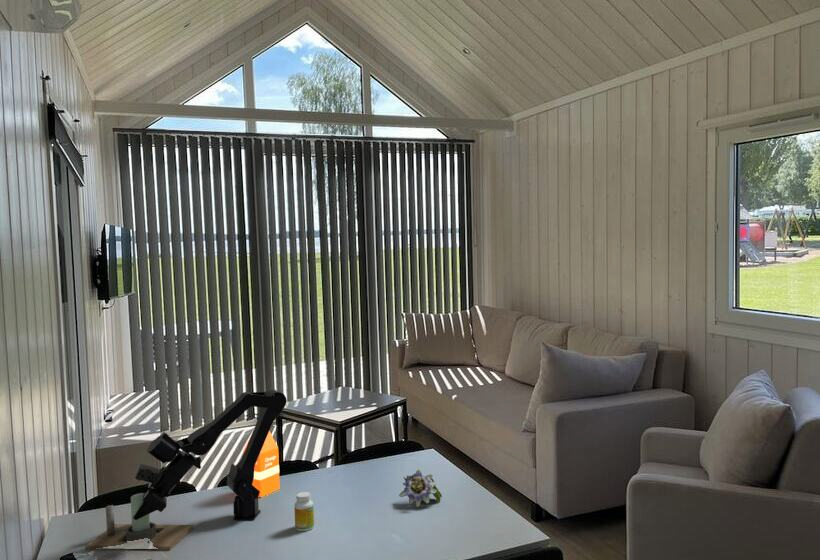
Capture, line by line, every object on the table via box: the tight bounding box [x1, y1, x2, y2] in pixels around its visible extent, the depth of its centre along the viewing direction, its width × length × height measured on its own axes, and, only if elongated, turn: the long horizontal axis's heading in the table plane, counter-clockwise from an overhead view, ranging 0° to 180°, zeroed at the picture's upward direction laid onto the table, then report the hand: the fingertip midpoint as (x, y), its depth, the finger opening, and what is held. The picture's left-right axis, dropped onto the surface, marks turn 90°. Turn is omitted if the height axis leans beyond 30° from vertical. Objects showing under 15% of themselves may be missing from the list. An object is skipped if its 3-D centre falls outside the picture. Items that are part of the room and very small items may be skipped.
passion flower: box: [399, 469, 443, 508], centre depth 199 cm, size 11×11×12 cm
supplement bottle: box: [293, 491, 315, 532], centre depth 182 cm, size 5×5×10 cm
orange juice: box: [242, 430, 281, 498], centre depth 212 cm, size 8×9×20 cm
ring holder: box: [85, 504, 194, 551], centre depth 178 cm, size 24×14×9 cm, turn 85°
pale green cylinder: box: [130, 492, 151, 533], centre depth 178 cm, size 5×5×12 cm
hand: (135, 515), depth 178 cm, fingers closed on pale green cylinder, 5 cm apart
